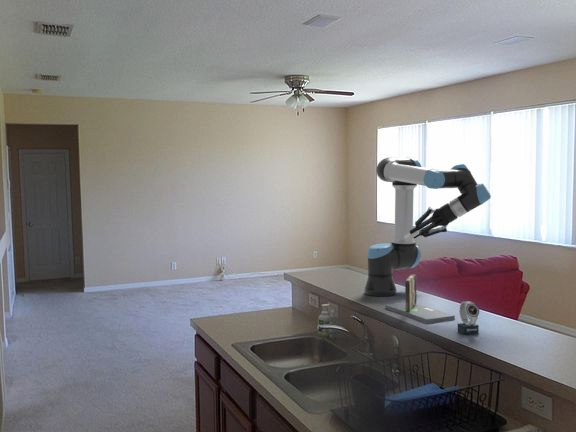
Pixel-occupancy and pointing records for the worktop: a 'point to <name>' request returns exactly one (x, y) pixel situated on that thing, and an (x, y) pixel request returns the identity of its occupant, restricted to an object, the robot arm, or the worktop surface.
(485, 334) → the worktop surface
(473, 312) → the watch
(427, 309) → the grey rectangular base plate
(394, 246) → the robot arm
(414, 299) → the beige upright panel
